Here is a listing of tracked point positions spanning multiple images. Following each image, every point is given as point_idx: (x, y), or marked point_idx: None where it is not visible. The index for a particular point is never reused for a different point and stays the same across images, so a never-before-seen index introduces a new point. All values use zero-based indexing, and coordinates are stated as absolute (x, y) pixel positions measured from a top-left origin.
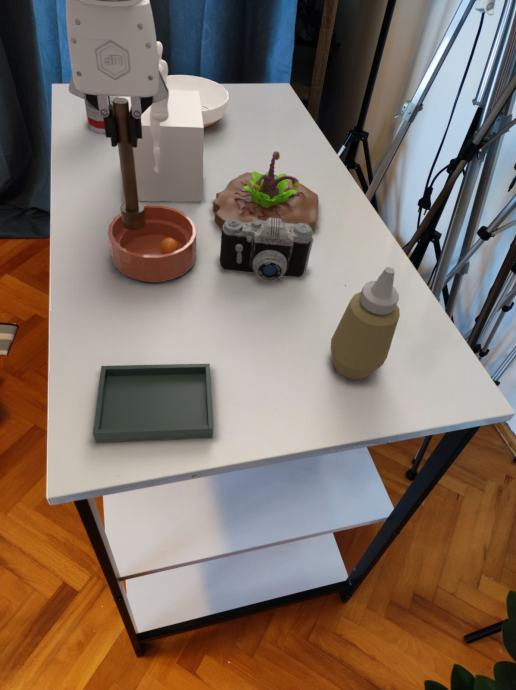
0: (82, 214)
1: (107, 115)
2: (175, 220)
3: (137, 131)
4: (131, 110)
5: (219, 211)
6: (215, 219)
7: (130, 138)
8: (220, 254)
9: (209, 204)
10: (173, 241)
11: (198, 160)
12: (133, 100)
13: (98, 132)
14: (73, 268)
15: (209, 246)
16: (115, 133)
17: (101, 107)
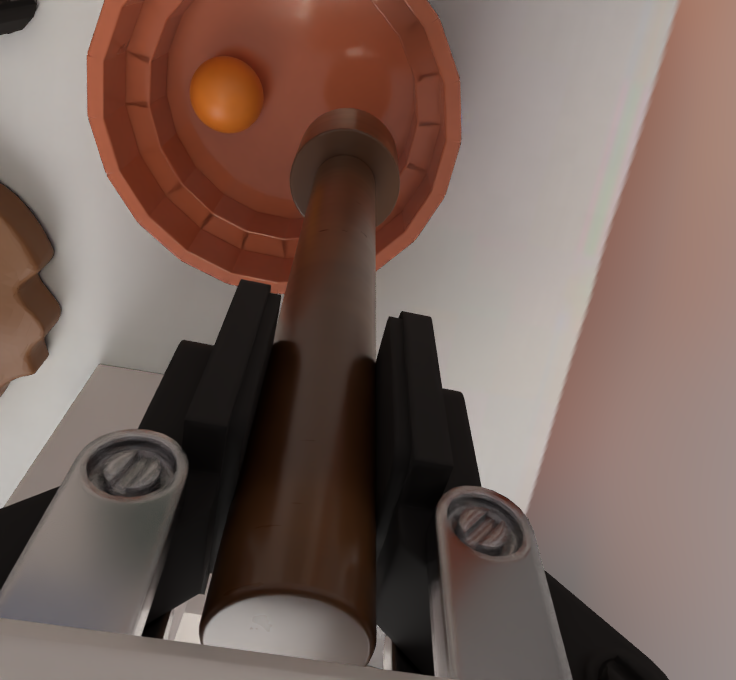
0: (490, 364)
1: (453, 495)
2: (183, 221)
3: (199, 375)
4: (189, 524)
5: (19, 270)
6: (46, 251)
7: (275, 356)
8: (16, 5)
9: (74, 348)
10: (202, 94)
11: (47, 472)
12: (102, 606)
13: (373, 667)
14: (588, 93)
15: (80, 119)
16: (392, 370)
17: (516, 572)
